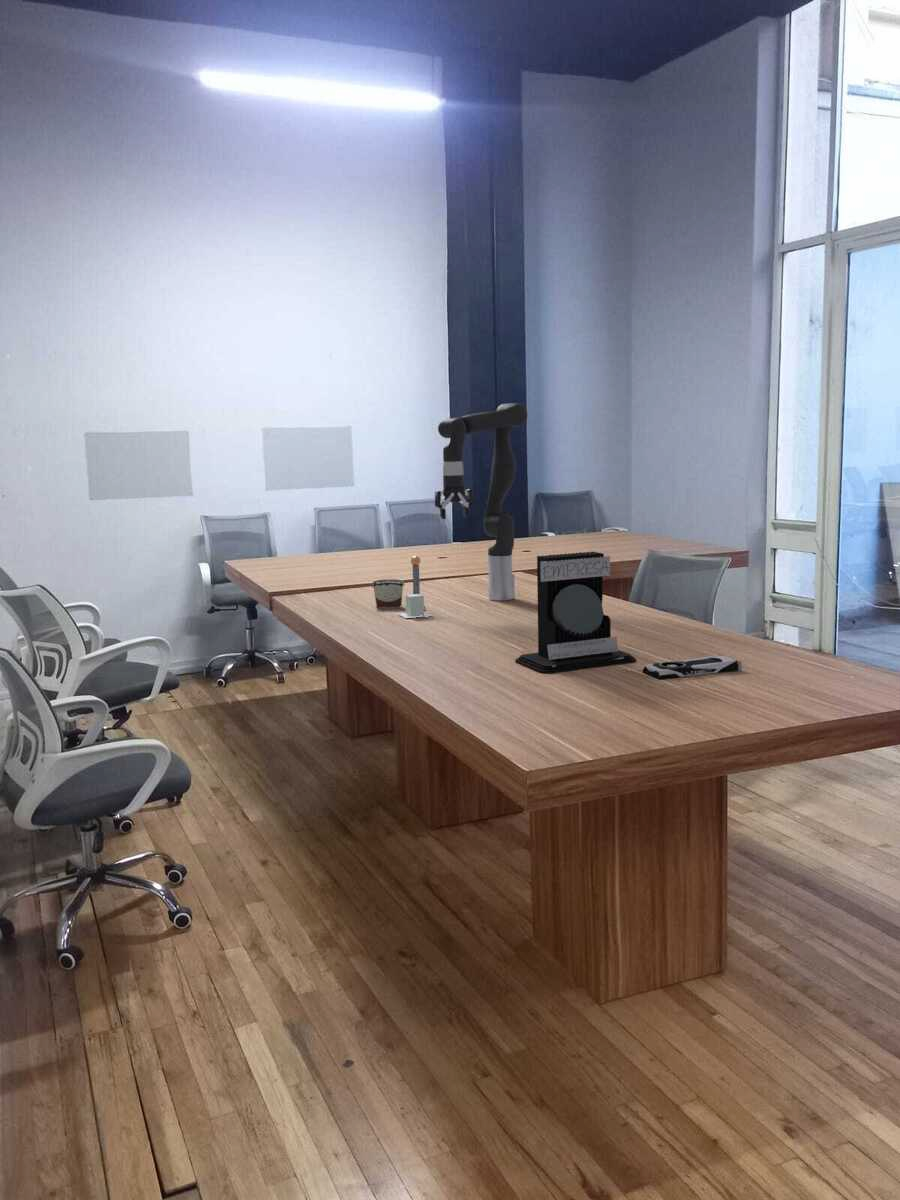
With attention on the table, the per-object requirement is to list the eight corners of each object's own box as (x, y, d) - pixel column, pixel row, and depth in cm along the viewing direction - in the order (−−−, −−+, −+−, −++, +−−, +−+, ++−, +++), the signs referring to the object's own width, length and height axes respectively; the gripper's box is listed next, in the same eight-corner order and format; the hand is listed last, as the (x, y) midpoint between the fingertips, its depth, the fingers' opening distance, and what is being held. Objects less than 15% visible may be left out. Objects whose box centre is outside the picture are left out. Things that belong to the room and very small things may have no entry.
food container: (407, 604, 386) (406, 578, 385) (405, 607, 380) (404, 581, 379) (375, 605, 388) (374, 579, 386) (372, 607, 382) (371, 581, 380)
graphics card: (742, 660, 268) (658, 669, 260) (741, 672, 269) (658, 682, 261) (720, 653, 278) (639, 661, 270) (720, 665, 278) (639, 674, 270)
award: (543, 675, 270) (542, 563, 265) (511, 661, 287) (509, 556, 282) (640, 662, 282) (640, 555, 277) (604, 649, 299) (603, 548, 294)
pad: (422, 612, 369) (422, 611, 369) (433, 616, 360) (433, 615, 360) (397, 614, 365) (396, 613, 365) (406, 619, 356) (406, 618, 356)
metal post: (421, 608, 378) (420, 554, 375) (427, 610, 373) (426, 556, 370) (406, 609, 376) (404, 555, 373) (412, 611, 371) (410, 557, 367)
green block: (419, 612, 366) (418, 593, 365) (424, 615, 361) (423, 595, 360) (406, 614, 364) (405, 594, 363) (411, 616, 359) (410, 596, 358)
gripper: (467, 472, 376) (468, 516, 379) (431, 474, 371) (432, 518, 374) (475, 473, 369) (476, 518, 372) (439, 475, 364) (440, 520, 367)
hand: (454, 518), depth 373 cm, fingers open, 8 cm apart
